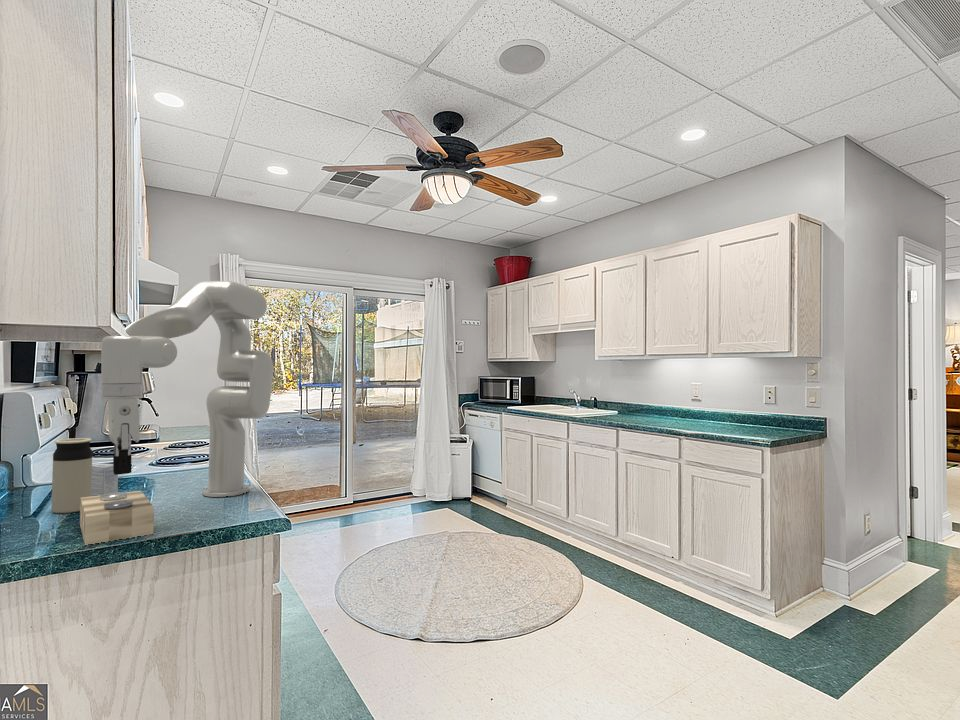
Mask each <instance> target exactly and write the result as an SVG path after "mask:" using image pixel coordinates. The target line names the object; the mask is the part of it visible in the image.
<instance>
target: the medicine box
mask: <svg viewBox="0 0 960 720" xmlns="http://www.w3.org/2000/svg"><path fill="white" fill-rule="evenodd" d="M118 477H119V475H115V474H114V473H113V463H101V462H100V463H98V462H97V463H92V480H91V496H99V495H103V494H107V493H114V492H119V489H118V488H119V487H118V485H119V483H118V482H119V478H118Z"/></svg>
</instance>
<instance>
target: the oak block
mask: <svg viewBox="0 0 960 720" xmlns="http://www.w3.org/2000/svg"><path fill="white" fill-rule="evenodd" d="M125 492H126V493H127V497H126V498H124V499H120V500H113V501H121V500H130V501H133V506H131V507H129V508H125V509H119V510H105V509H104V504H106V503H109V502H113V501H102V500H100V496H101V495H99V496H91V497H82V498H80V511H79V526H80V530H81V531H80V532H81V534H82V539H83V543H85V544H84V546H85V545H87V546H89V545H88V544H93V545H96V544H95V543H99V544H102V543H101V542H105V543H109V542H108V541H111V542H115V541H114V540H117V541H120V540H119V539H123V540H126V539H125V538H129V539H131V538H130V537H135V538H138V537H137V536H141V537H145V536H144V535H147V536H150V535H149V534H153V535H154V518H155V517H154V516H155V513H154V512H155V507H154V505H153V504H152V503H151V502H150V500H149V499H148V497H147V496H146V495H145V494H144V492H142V490H135V491H134V490H133V491H125Z"/></svg>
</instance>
